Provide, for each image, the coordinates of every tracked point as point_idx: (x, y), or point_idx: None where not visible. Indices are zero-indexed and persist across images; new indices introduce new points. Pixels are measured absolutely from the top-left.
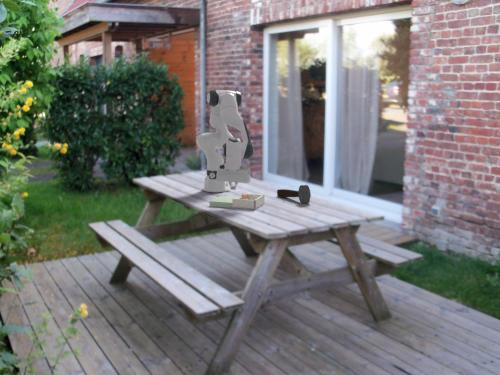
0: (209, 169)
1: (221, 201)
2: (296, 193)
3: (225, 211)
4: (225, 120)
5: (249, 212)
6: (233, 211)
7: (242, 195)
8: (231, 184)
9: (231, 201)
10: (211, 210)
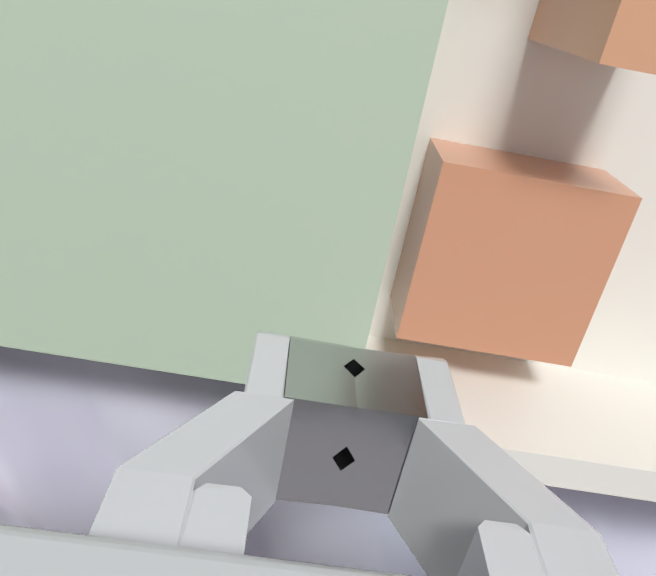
0: None
1: (107, 316)
2: None
3: (292, 552)
4: None
5: (624, 563)
6: (400, 541)
7: (602, 62)
8: (240, 471)
9: (313, 284)
10: (87, 527)
